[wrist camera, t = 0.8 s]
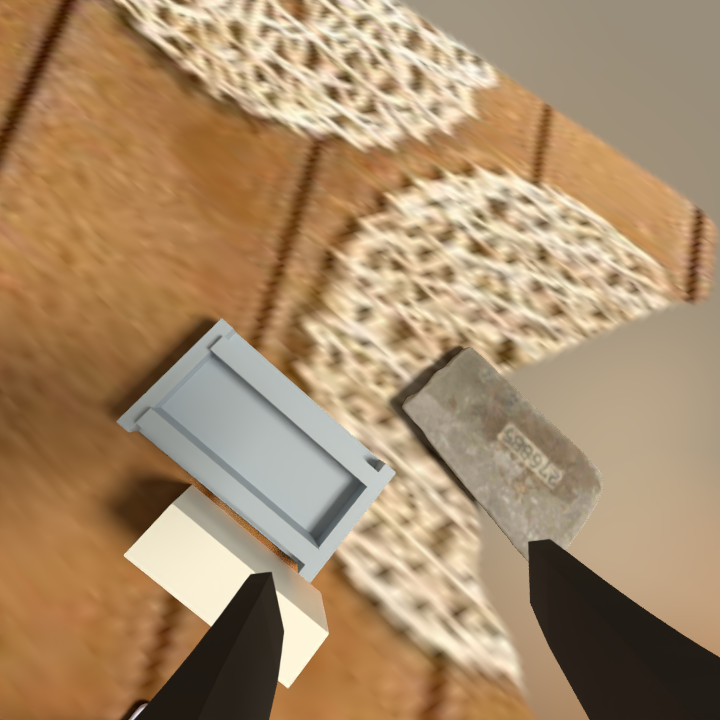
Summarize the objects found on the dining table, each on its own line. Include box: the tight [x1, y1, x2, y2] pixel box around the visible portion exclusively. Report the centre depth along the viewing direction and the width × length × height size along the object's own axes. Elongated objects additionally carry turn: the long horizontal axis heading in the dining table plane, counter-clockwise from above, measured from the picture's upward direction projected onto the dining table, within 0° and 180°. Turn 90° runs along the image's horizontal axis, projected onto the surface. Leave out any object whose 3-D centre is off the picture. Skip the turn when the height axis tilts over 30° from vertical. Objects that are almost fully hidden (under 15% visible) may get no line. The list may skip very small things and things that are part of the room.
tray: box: [116, 319, 396, 583], centre depth 25 cm, size 9×16×3 cm, turn 49°
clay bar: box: [123, 485, 329, 688], centre depth 23 cm, size 12×4×5 cm, turn 48°
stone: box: [402, 347, 603, 562], centre depth 30 cm, size 18×3×10 cm
